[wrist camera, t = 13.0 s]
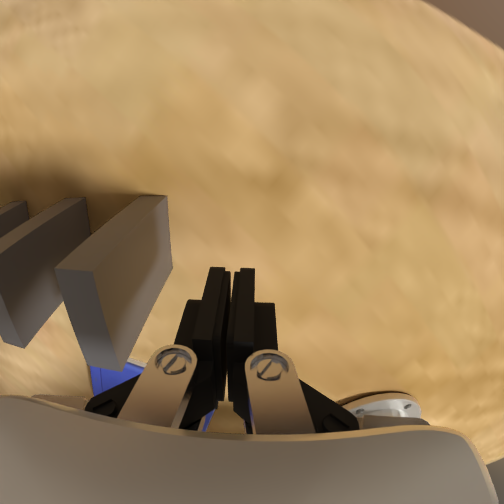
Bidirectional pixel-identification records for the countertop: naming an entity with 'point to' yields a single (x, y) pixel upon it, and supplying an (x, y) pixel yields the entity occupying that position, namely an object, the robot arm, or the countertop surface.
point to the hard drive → (123, 380)
